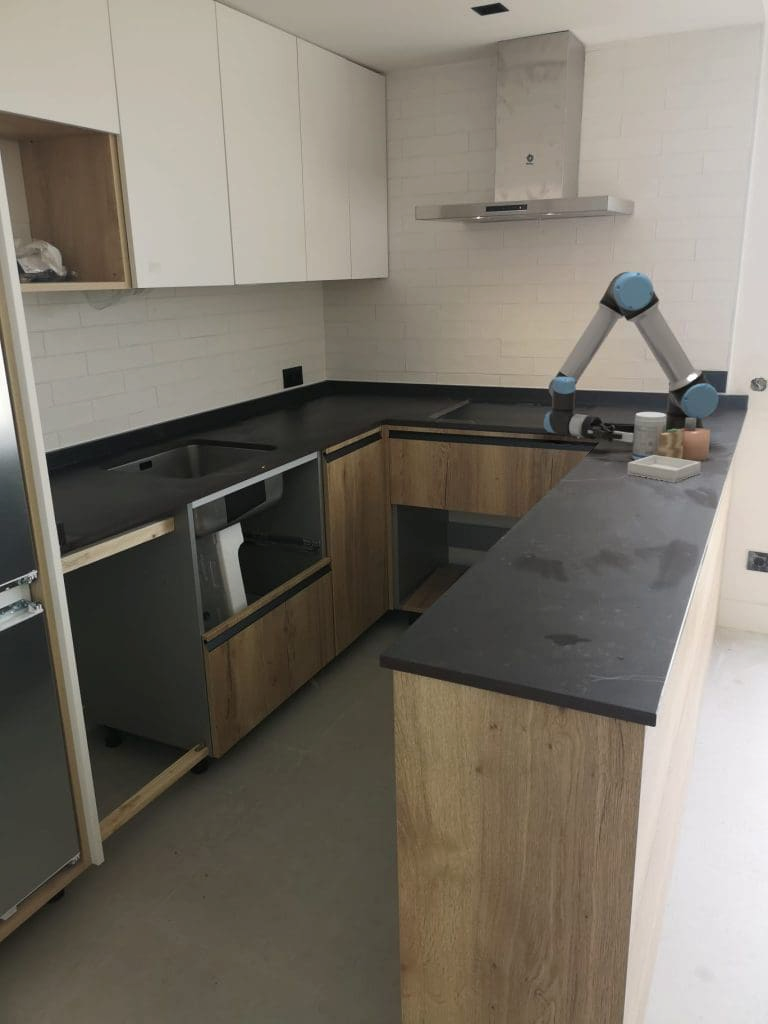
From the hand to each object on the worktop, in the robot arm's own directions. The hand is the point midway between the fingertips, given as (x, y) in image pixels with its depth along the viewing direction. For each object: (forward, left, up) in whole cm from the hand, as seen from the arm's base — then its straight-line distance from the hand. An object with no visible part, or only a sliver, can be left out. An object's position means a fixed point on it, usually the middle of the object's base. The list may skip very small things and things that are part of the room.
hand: (644, 435), depth 255 cm
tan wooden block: (-1, +9, -8) cm, 12 cm away
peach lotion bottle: (-13, +11, -8) cm, 18 cm away
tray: (+13, +15, -8) cm, 21 cm away
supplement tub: (-1, +2, -8) cm, 8 cm away
